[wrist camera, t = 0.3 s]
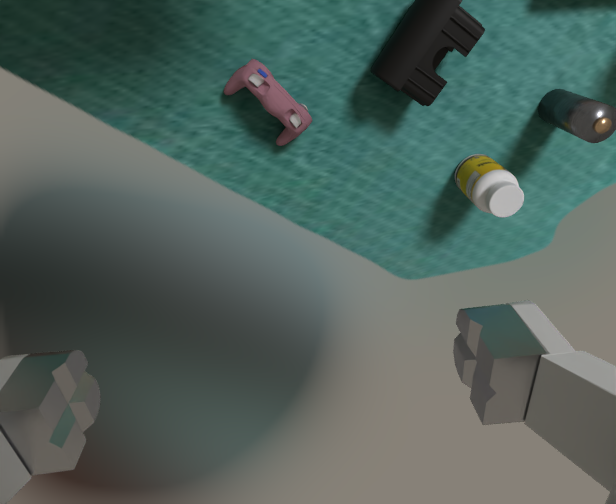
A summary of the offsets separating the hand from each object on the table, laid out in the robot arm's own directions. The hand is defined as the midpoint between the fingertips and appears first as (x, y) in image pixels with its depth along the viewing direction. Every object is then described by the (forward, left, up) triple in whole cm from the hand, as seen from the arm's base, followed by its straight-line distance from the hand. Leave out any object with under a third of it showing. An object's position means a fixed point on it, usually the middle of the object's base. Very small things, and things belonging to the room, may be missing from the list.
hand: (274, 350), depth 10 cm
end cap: (-1, +16, -48) cm, 50 cm away
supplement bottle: (+15, +25, -47) cm, 56 cm away
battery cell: (+7, +34, -47) cm, 58 cm away
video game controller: (+4, -1, -47) cm, 48 cm away
